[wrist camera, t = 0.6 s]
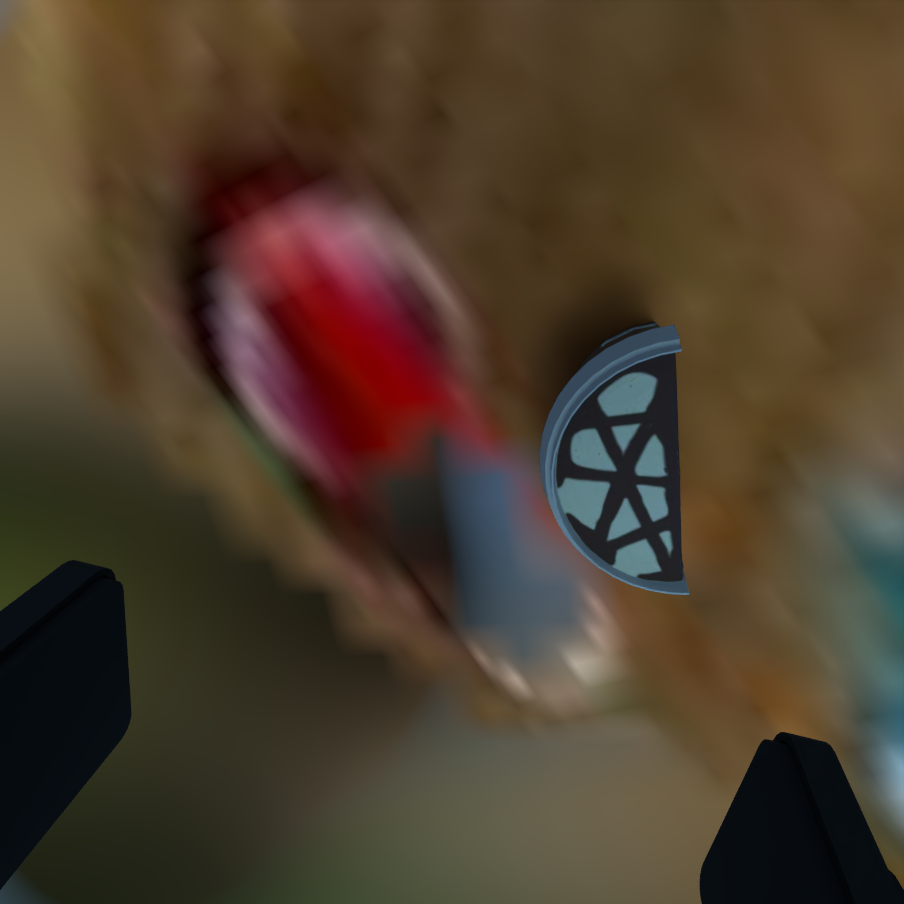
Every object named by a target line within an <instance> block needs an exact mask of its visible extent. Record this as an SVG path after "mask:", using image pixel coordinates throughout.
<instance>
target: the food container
mask: <svg viewBox="0 0 904 904" xmlns="http://www.w3.org/2000/svg"><path fill="white" fill-rule="evenodd" d="M681 351H682V348H681V346H680V341H679V336H678V333H677V331H676V328H675V325H670V326H665V327H660V326H658V325H657V324H656V323H655V322H651V323H646V324H641V325H636V326H632V327H630V328H628V329H626V330H624V331H621V332H619V333H617V334H615V335H613V336H611V337H609V338H607V339H605V340H604V341H603V342H602V343H601V344H600V345H599V346H598V347H597V348H596V349H594V350H593V351H592V352H591V353H590V354H589V355H588V356H587V357H586V358H585V359H584V361H583V362H582V364H581V366H580V368H579V370H578V371H577V373H576V374H575V375H574V376H573V377H572V378H571V379H570V381H569V382H568V383H567V385H566V386H565V387H564V389H563V390H562V391H561V393H560V394H559V396H558V397H557V399H556V401H555V403H554V405H553V407H552V409H551V411H550V413H549V415H548V418H547V421H546V424H545V428H544V431H543V434H542V441H541V448H540V472H541V477H542V482H543V487H544V491H545V494H546V496H547V499H548V501H549V504H550V506H551V509H552V511H553V514H554V516H555V518H556V520H557V522H558V524H559V525H560V527H561V529H562V530H563V532H564V534H565V535H566V537H567V538H568V539H569V540H570V541H571V543H572V544H573V545H574V546H575V547H576V549H577V550H578V551H579V552H581V553H582V554H583V555H584V556H585V557H586V558H587V559H589V560H590V561H591V562H592V563H593V564H595V565H596V566H597V567H598V568H600V569H602V570H603V571H605V572H606V573H608V574H609V575H611V576H613V577H614V578H617V579H619V580H621V581H623V582H625V583H628V584H630V585H633V586H636V587H639V588H643V589H646V590H649V591H655V592H661V593H667V594H685V595H689V592H688V587H687V583H686V579H685V575H684V571H683V562H682V550H681V512H680V465H679V445H678V410H677V380H676V357H675V352H681Z"/></svg>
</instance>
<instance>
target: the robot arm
mask: <svg viewBox="0 0 904 904" xmlns="http://www.w3.org/2000/svg"><path fill="white" fill-rule="evenodd" d="M130 700H131V699H130V684H129V668H128V653H127V637H126V621H125V606H124V591H123V585H122V584H121V583H120V582H119V581H116V579H115V574H114V573H113V571H112V570H111V569H108V568H104V567H100V566H96V565H92V564H88V563H84V562H80V561H76V560H72V561H68V562H66V563H64V564H62V565H61V566H60V567H58V568H57V569H56V570H54V571H53V572H52V573H50V574H49V575H48V576H46V577H45V578H44V579H42V580H41V581H40V582H39V583H37V584H36V585H34V586H33V587H32V588H30V589H29V590H28V591H26V592H25V593H24V594H23V595H21V596H20V597H19V598H17V599H16V600H15V601H13V602H12V603H11V604H9V605H8V606H7V607H5V608H4V609H3V610H2V611H0V889H1V888H2V887H3V886H4V885H5V883H6V882H7V881H8V880H9V878H10V877H11V876H12V875H13V873H14V872H15V871H16V870H17V868H18V867H19V866H20V865H21V863H22V862H23V861H24V859H25V858H26V857H27V856H28V855H29V853H30V852H31V851H32V850H33V849H34V847H35V846H36V844H37V843H38V842H39V841H40V840H41V839H42V837H43V836H44V835H45V833H46V832H47V831H48V830H49V829H50V827H51V826H52V825H53V824H54V822H55V821H56V820H57V819H58V817H59V816H60V815H61V814H62V812H63V811H64V810H65V809H66V808H67V806H68V805H69V804H70V803H71V801H72V800H73V799H74V797H75V796H76V795H77V794H78V792H79V791H80V790H81V789H82V788H83V786H84V785H85V784H86V783H87V781H88V780H89V779H90V778H91V776H92V775H93V774H94V773H95V772H96V770H97V769H98V767H100V765H101V764H102V763H103V762H104V760H105V759H106V758H107V757H108V755H109V754H110V753H111V752H112V750H113V749H114V748H115V747H116V745H117V744H118V743H119V742H120V740H121V739H122V738H123V736H124V734H125V732H126V730H127V729H128V726H129V723H130V719H131V701H130ZM700 896H701V902H702V904H904V890H903V888H902V887H901V885H900V883H899V881H898V880H897V878H896V876H895V875H894V874H893V873H892V872H891V871H890V870H888V868H887V866H886V864H885V862H884V859H883V857H882V855H881V853H880V851H879V848H878V846H877V844H876V842H875V840H874V837H873V835H872V833H871V831H870V828H869V826H868V824H867V822H866V820H865V817H864V815H863V813H862V811H861V809H860V806H859V804H858V802H857V800H856V798H855V795H854V793H853V791H852V789H851V787H850V784H849V782H848V780H847V778H846V775H845V773H844V771H843V769H842V767H841V764H840V762H839V760H838V758H837V756H836V753H835V752H834V750H833V748H832V747H831V746H830V745H829V744H828V743H826V742H823V741H819V740H815V739H811V738H806V737H802V736H798V735H794V734H790V733H786V732H780V733H779V734H777V735H776V737H775V738H774V740H773V741H771V740H766V739H765V740H763V741H762V742H761V744H760V745H759V747H758V749H757V751H756V753H755V756H754V758H753V760H752V762H751V764H750V766H749V768H748V770H747V772H746V774H745V777H744V779H743V781H742V783H741V785H740V787H739V789H738V791H737V793H736V795H735V797H734V800H733V802H732V804H731V806H730V808H729V810H728V812H727V815H726V816H725V819H724V821H723V823H722V825H721V827H720V829H719V831H718V833H717V835H716V838H715V840H714V842H713V844H712V846H711V848H710V850H709V852H708V854H707V856H706V858H705V861H704V862H703V865H702V868H701V873H700Z"/></svg>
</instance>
